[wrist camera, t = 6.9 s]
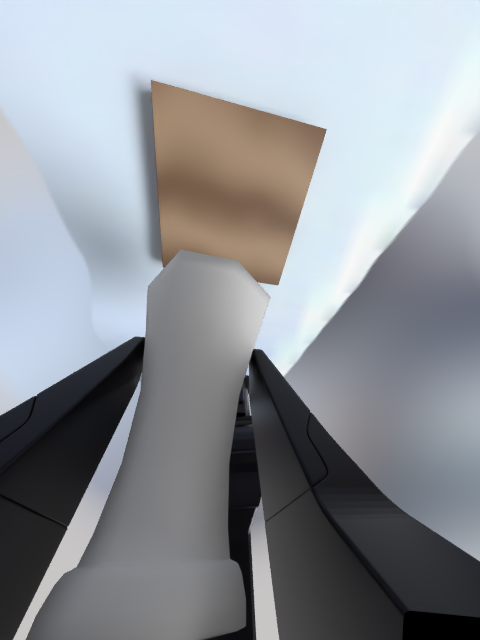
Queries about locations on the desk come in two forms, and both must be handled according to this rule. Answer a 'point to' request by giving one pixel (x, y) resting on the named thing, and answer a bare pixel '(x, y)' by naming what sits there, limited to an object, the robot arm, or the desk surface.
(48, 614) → the flask
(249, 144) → the flat brown panel
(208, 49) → the desk surface
